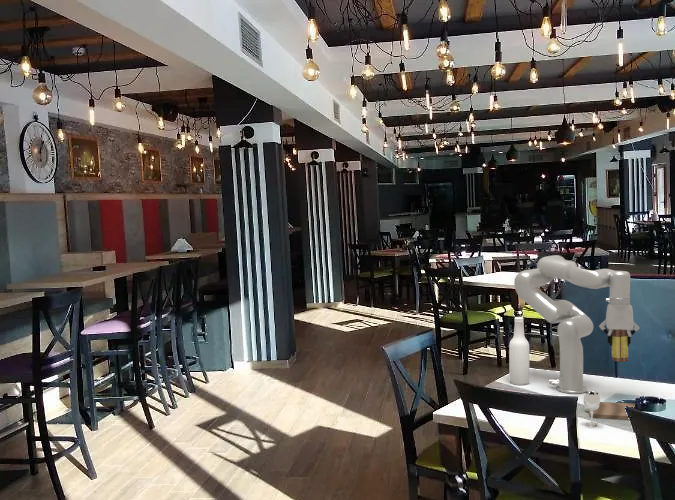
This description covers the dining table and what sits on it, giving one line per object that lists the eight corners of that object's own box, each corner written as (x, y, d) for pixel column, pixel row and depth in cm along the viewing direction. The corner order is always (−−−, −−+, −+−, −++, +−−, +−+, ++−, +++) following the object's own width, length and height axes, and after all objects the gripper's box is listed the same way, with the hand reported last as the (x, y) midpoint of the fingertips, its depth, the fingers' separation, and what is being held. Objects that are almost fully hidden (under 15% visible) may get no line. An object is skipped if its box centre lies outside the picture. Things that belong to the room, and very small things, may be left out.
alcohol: (509, 385, 299) (509, 319, 296) (509, 379, 307) (508, 315, 305) (530, 385, 297) (529, 319, 294) (528, 380, 305) (528, 315, 303)
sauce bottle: (627, 359, 273) (628, 311, 271) (628, 362, 267) (630, 314, 265) (610, 358, 275) (611, 310, 273) (611, 361, 269) (612, 313, 268)
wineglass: (580, 422, 248) (580, 391, 247) (595, 421, 249) (595, 390, 248) (587, 427, 243) (587, 395, 242) (603, 427, 243) (603, 394, 242)
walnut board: (590, 417, 253) (590, 413, 253) (587, 404, 269) (587, 401, 268) (647, 421, 248) (647, 417, 247) (641, 407, 263) (641, 404, 263)
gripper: (597, 302, 268) (597, 346, 270) (644, 303, 263) (643, 348, 265) (596, 299, 275) (595, 342, 277) (641, 300, 270) (640, 344, 272)
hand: (618, 344), depth 271 cm, fingers closed on sauce bottle, 5 cm apart
